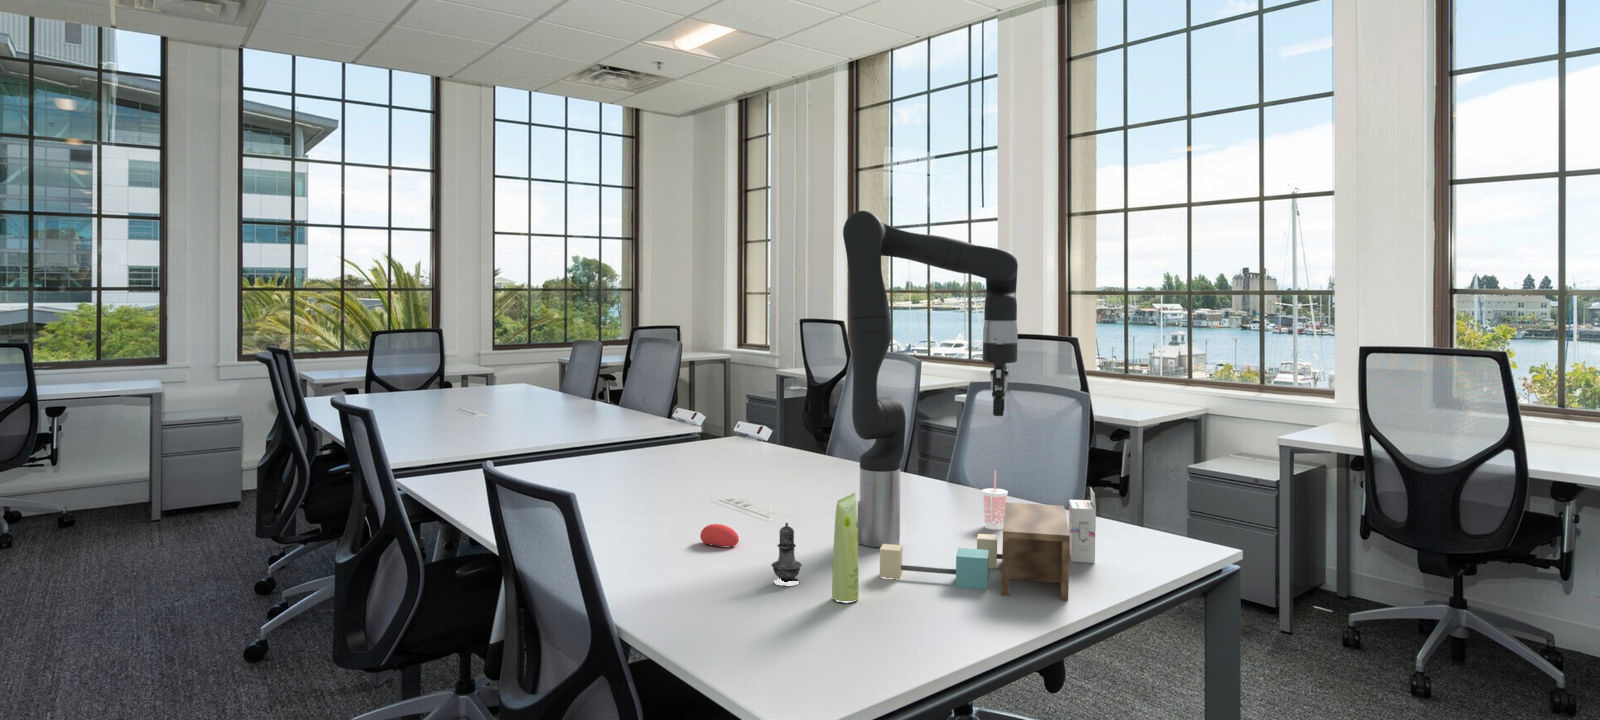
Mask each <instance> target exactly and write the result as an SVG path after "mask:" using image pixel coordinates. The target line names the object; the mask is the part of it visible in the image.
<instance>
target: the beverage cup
mask: <svg viewBox="0 0 1600 720" xmlns="http://www.w3.org/2000/svg"><path fill="white" fill-rule="evenodd" d="M993 476H994V477H993V488H990V487H989V488H983V489H982V490H981V492H982V493H981V495H982V497H983V498H982V499H983V515H984V517H983V520H984V523H983V524H984V527H985V528H986V529H987V530H1003V525H1004V514H1005V503H1006V502H1007V496H1008V493H1009V492H1008V490H1006V489H1003V488H997V470H995V469H994V471H993Z"/></svg>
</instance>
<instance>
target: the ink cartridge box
mask: <svg viewBox="0 0 1600 720" xmlns="http://www.w3.org/2000/svg"><path fill="white" fill-rule="evenodd" d="M1089 490H1090V491H1089V492H1090V500H1087V499H1069V501H1068V505H1069V507H1068V510H1069V511H1068V512H1069V513H1068V529H1069V534H1070V548H1069V558H1070V560H1071V562H1072V563H1086V564H1087V563H1088V564H1096V563H1095V562H1096V530H1097V529H1096V527H1097V526H1096V523H1097V521H1096V520H1097V519H1096V518H1097V517H1096V516H1097V509H1096V508H1097V506H1096V496H1095V495H1096V494H1095V492H1094V491H1093V489H1092V487H1089Z"/></svg>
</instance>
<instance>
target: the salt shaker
mask: <svg viewBox="0 0 1600 720" xmlns="http://www.w3.org/2000/svg"><path fill="white" fill-rule="evenodd" d="M796 546H797V545H796V543H795V530H794V528H793V527H791V526H789V523H788V522H785V524H784V526H783V527H781V528H780V529H779V543H778V544H777V547H778V559H777V560H776V561H773V562H772V564H771V567H772V568H773V569H772V571H773V573H774V574H775V576H776V577H777V578H779V579H780V578H781V580H782V581H784V582H788V581H798V580H799V579H798V578H797V576H798V575H799V574H800V571H801V567H802V566H803V565H802V563H801V562H800V561H797V560H796V557H795V548H796Z"/></svg>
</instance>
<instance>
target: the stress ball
mask: <svg viewBox="0 0 1600 720" xmlns="http://www.w3.org/2000/svg"><path fill="white" fill-rule="evenodd" d="M699 537H700V541H701V542H704V543H703V544H705V543H707V544H712V545H719V546H734V545H735V546H737V545H738V543H739V541H740V539H739V535H738V533H737V532H736V531H735V530H734V529H733V528H732V527H729V525H728V526H727V525H725V524H719V523H713V524H712V523H710V524H708V525H705V527H704V528H703V529H702V530H701V531H700V536H699ZM707 544H706V545H707ZM712 545H711V546H712ZM719 546H718V547H719ZM735 546H734V547H735Z"/></svg>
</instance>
